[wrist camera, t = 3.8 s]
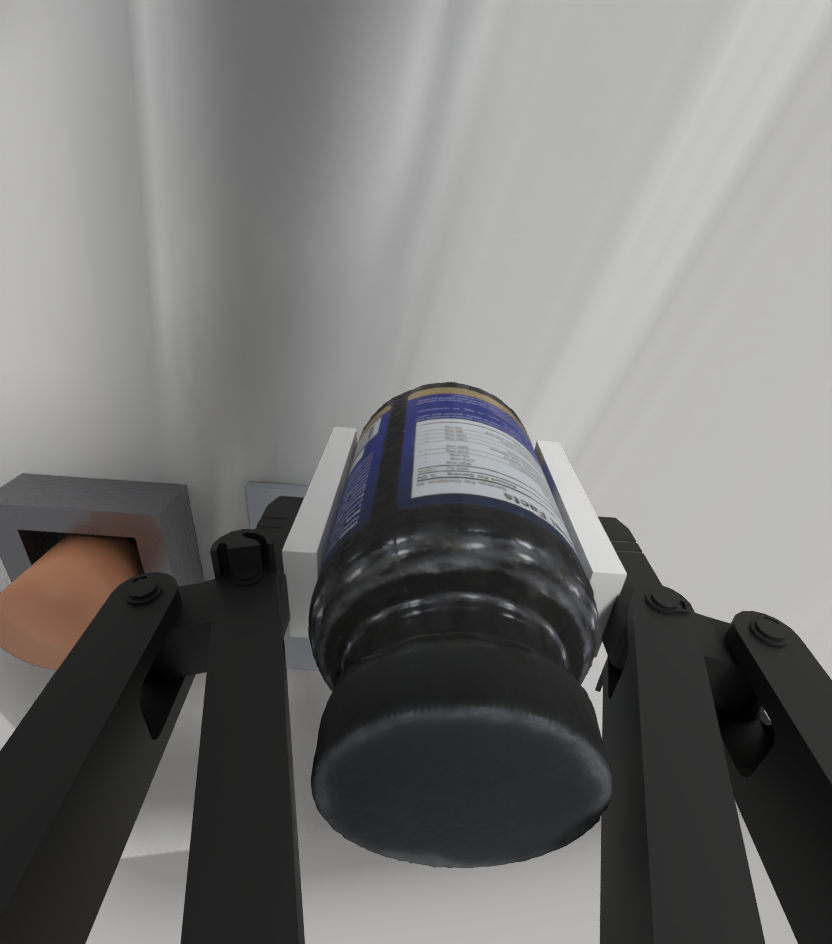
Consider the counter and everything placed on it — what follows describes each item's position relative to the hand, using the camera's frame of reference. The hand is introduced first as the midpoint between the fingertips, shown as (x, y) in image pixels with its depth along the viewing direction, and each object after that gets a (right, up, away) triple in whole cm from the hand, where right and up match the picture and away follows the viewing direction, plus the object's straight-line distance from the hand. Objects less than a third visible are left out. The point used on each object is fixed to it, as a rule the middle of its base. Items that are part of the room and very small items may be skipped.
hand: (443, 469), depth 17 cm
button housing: (-18, -4, +12) cm, 22 cm away
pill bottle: (0, 0, 0) cm, 1 cm away
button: (-18, -5, +10) cm, 22 cm away
